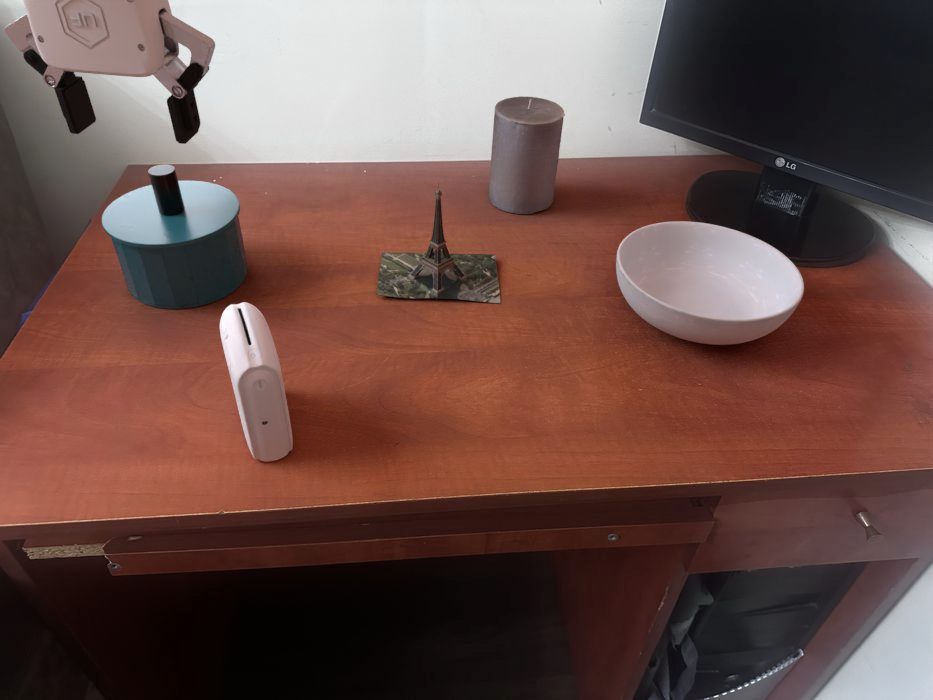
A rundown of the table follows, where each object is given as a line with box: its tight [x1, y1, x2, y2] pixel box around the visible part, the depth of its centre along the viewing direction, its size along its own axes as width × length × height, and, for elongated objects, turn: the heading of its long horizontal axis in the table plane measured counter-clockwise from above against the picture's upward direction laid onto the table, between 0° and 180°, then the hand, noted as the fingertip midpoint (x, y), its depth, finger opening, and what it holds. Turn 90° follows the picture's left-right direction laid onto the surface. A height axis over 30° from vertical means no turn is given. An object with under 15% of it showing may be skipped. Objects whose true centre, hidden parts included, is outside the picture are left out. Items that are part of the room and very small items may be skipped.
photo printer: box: [219, 301, 294, 463], centre depth 65 cm, size 10×4×12 cm, turn 23°
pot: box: [110, 216, 248, 310], centre depth 85 cm, size 14×14×8 cm
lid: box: [101, 164, 241, 248], centre depth 80 cm, size 15×15×6 cm
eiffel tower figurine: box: [375, 182, 502, 304], centre depth 84 cm, size 15×10×13 cm
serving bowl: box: [615, 220, 805, 346], centre depth 83 cm, size 21×21×7 cm
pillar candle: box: [488, 96, 565, 215], centre depth 101 cm, size 10×10×15 cm
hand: (136, 132), depth 63 cm, fingers open, 9 cm apart
